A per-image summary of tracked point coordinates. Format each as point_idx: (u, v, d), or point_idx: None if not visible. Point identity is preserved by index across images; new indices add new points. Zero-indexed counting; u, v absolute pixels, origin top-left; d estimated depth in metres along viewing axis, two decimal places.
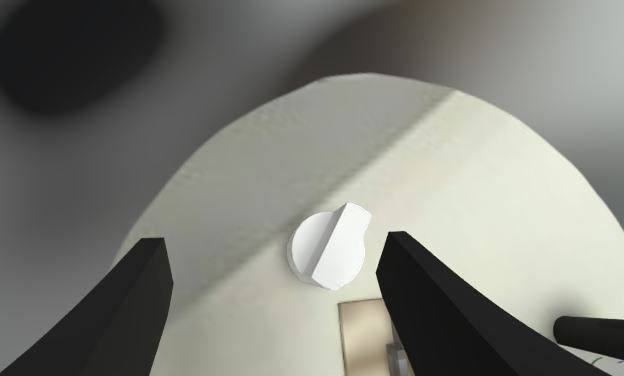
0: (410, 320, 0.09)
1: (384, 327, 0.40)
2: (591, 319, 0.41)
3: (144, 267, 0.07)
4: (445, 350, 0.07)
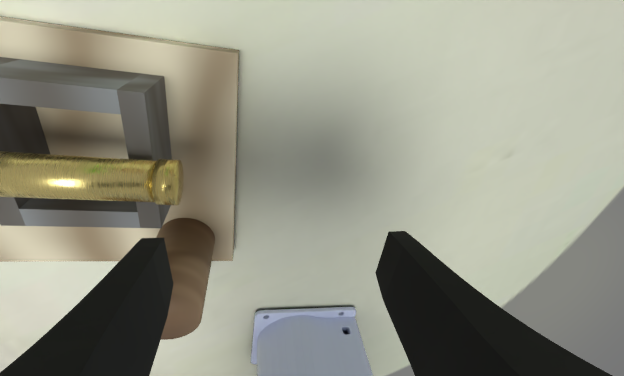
0: (410, 320, 0.09)
1: None
2: None
3: (144, 267, 0.07)
4: (445, 350, 0.07)
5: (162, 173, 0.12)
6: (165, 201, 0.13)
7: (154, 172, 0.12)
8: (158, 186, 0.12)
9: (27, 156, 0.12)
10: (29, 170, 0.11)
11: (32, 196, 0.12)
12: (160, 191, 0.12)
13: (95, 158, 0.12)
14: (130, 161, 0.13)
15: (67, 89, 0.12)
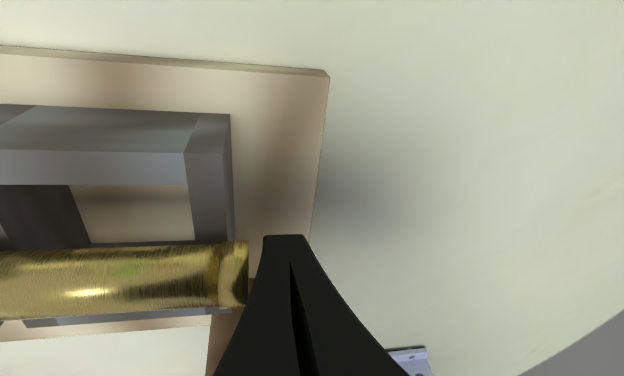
0: None
1: None
2: None
3: (288, 261, 0.08)
4: (303, 366, 0.07)
5: (231, 271, 0.08)
6: (235, 307, 0.09)
7: (219, 270, 0.08)
8: (226, 291, 0.08)
9: (34, 263, 0.08)
10: (37, 286, 0.07)
11: None
12: (229, 297, 0.08)
13: (132, 253, 0.08)
14: (182, 252, 0.09)
15: (111, 158, 0.08)
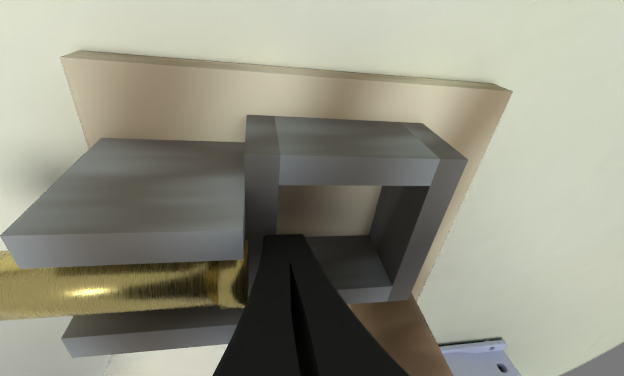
0: None
1: None
2: None
3: (288, 260, 0.08)
4: (303, 366, 0.07)
5: (231, 271, 0.08)
6: (234, 307, 0.09)
7: (219, 270, 0.08)
8: (226, 291, 0.08)
9: None
10: (37, 286, 0.07)
11: None
12: (229, 297, 0.08)
13: None
14: None
15: (386, 163, 0.09)
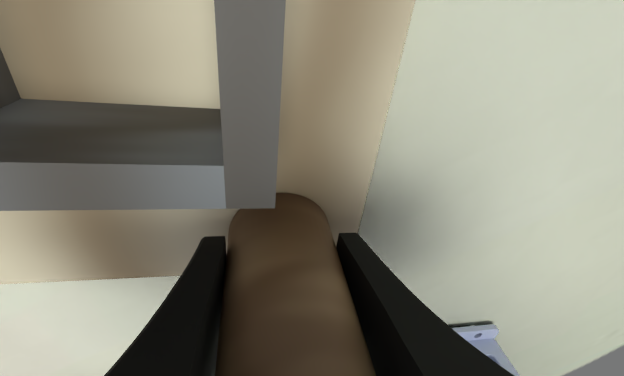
0: None
1: None
2: None
3: (217, 264, 0.08)
4: (379, 357, 0.07)
5: None
6: None
7: None
8: None
9: None
10: None
11: None
12: None
13: None
14: None
15: None
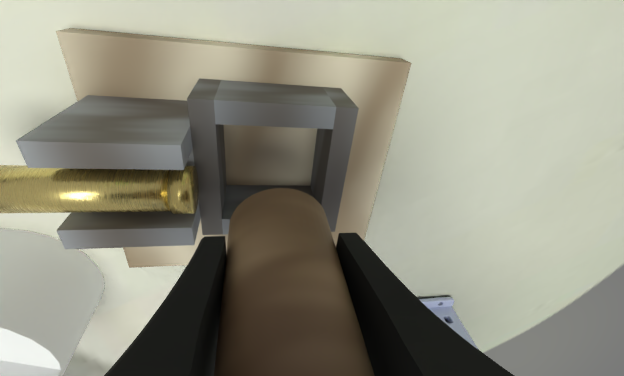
0: None
1: None
2: None
3: (217, 263, 0.08)
4: (379, 357, 0.07)
5: (177, 181, 0.12)
6: (181, 210, 0.12)
7: (169, 180, 0.12)
8: (174, 195, 0.12)
9: (37, 170, 0.11)
10: (39, 184, 0.11)
11: (44, 211, 0.11)
12: (176, 200, 0.12)
13: None
14: (143, 169, 0.12)
15: (295, 109, 0.13)
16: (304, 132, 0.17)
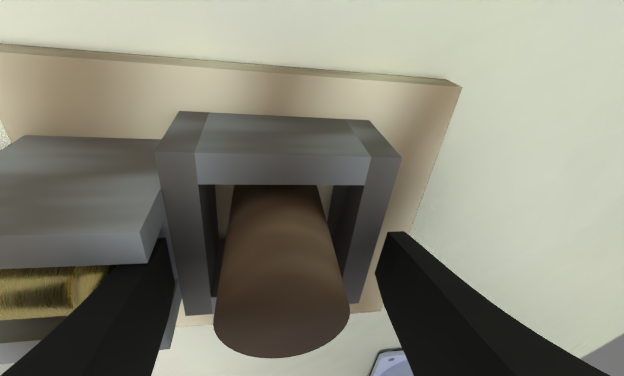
0: (408, 320, 0.09)
1: None
2: None
3: (146, 266, 0.07)
4: (443, 350, 0.07)
5: (88, 277, 0.08)
6: None
7: (75, 277, 0.08)
8: (82, 299, 0.08)
9: None
10: None
11: None
12: None
13: None
14: None
15: (313, 161, 0.09)
16: None
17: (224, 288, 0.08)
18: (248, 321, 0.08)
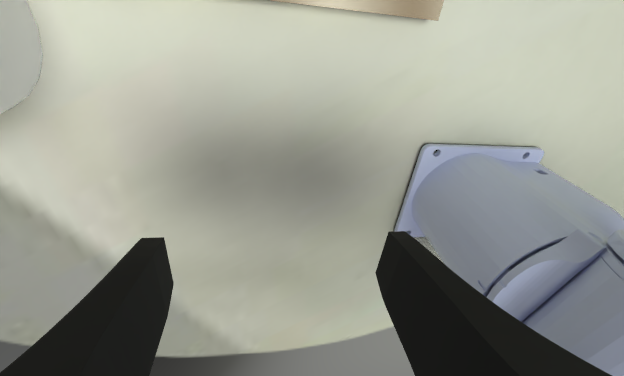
0: (410, 320, 0.09)
1: None
2: None
3: (144, 266, 0.07)
4: (445, 350, 0.07)
5: None
6: None
7: None
8: None
9: None
10: None
11: None
12: None
13: None
14: None
15: None
16: None
17: None
18: None
